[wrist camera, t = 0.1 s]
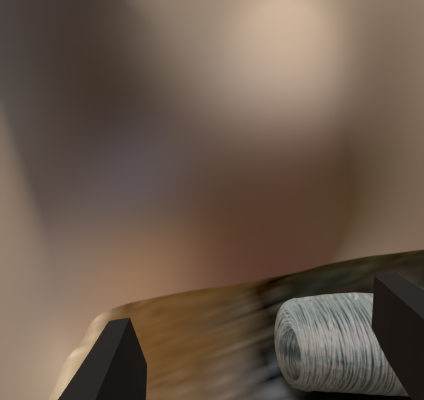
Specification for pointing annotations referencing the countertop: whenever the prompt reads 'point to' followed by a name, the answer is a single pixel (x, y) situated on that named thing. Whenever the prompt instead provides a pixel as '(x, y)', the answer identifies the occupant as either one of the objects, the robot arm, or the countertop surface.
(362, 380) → the spool
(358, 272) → the countertop surface
